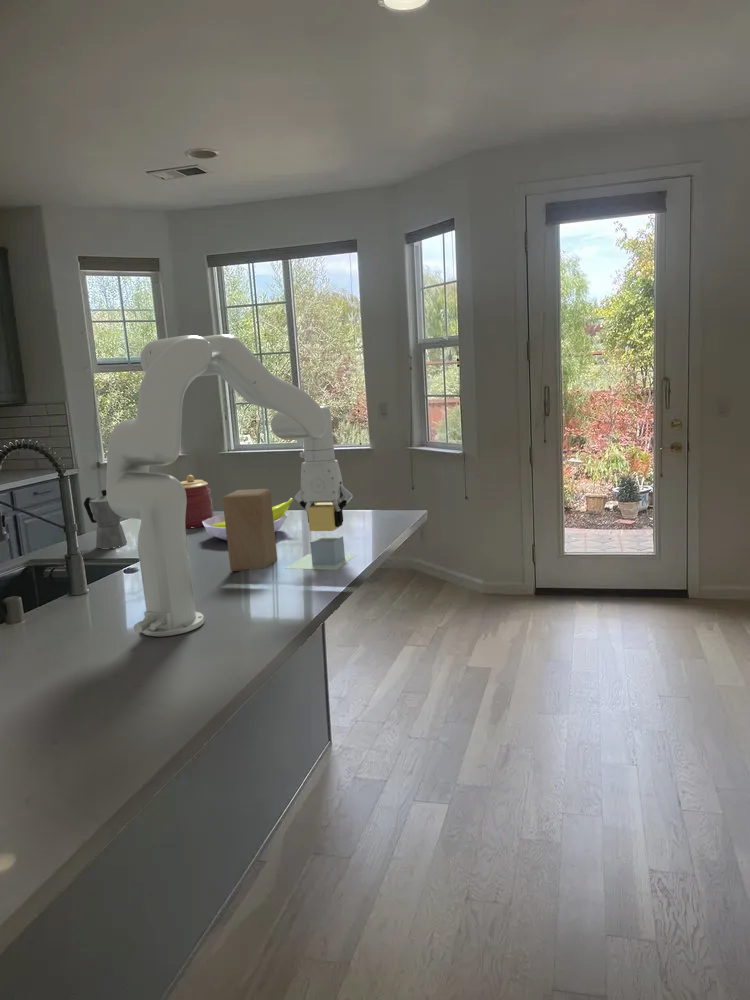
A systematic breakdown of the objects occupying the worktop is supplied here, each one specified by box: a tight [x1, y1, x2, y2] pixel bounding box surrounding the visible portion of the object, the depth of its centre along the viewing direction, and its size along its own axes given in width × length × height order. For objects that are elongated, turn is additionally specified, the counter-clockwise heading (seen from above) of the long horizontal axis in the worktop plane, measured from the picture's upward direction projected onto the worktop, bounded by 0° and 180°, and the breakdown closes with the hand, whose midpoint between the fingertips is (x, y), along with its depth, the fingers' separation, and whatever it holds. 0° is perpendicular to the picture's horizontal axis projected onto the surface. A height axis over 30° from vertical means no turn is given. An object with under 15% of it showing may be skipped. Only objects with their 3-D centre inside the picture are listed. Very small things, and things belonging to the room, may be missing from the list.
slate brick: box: [309, 535, 346, 565], centre depth 188 cm, size 6×6×6 cm
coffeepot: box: [83, 489, 128, 549], centre depth 231 cm, size 15×9×18 cm, turn 67°
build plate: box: [284, 553, 357, 571], centre depth 189 cm, size 14×14×1 cm
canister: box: [180, 474, 215, 529], centre depth 254 cm, size 13×13×18 cm
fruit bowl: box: [202, 497, 295, 541], centre depth 230 cm, size 28×27×11 cm
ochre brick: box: [307, 502, 344, 532], centre depth 187 cm, size 6×6×6 cm
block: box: [222, 488, 278, 572], centre depth 191 cm, size 10×10×20 cm
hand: (325, 525), depth 187 cm, fingers closed on ochre brick, 6 cm apart
